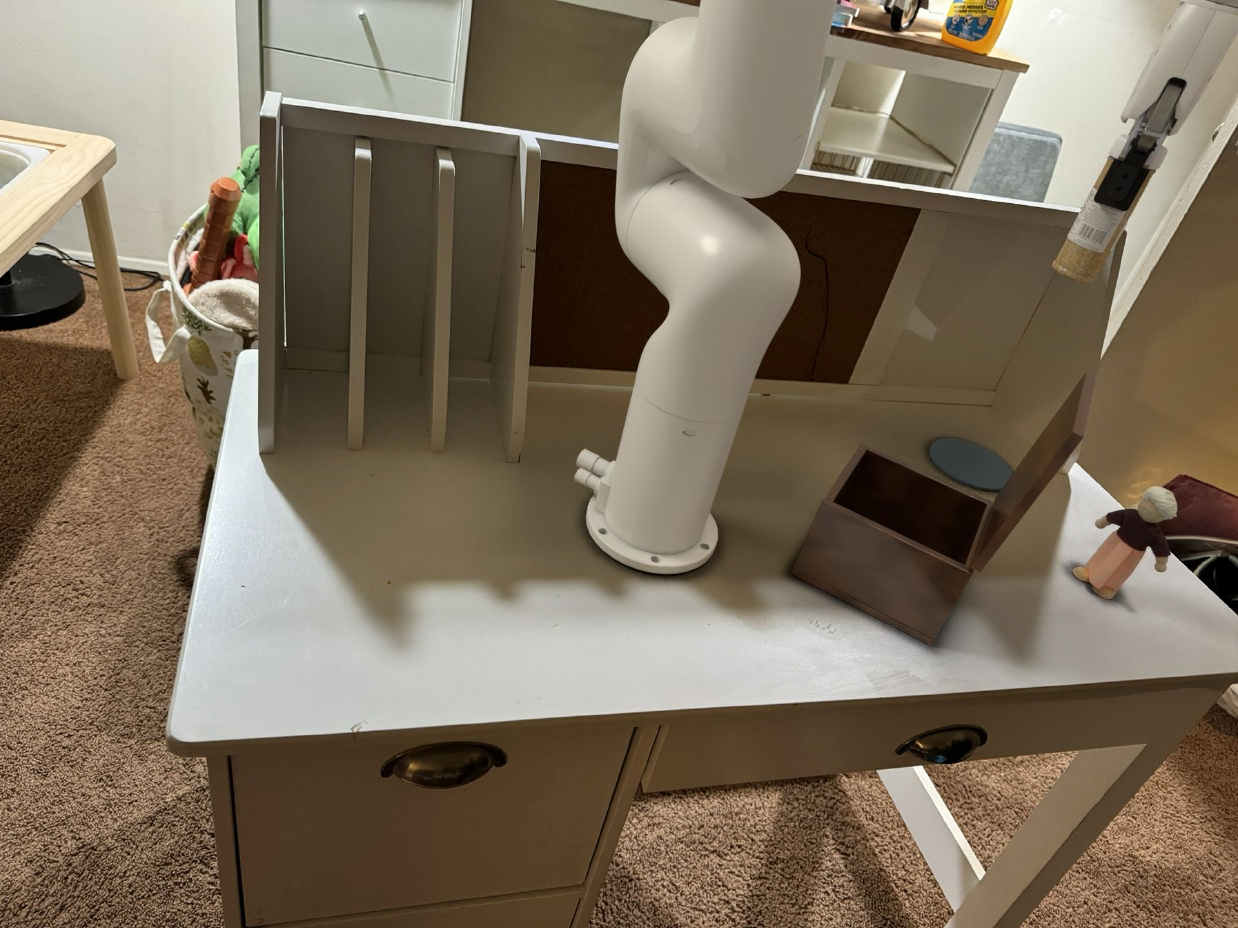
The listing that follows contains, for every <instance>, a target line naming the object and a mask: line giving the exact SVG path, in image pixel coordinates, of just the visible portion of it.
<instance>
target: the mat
mask: <svg viewBox="0 0 1238 928" xmlns="http://www.w3.org/2000/svg"><path fill="white" fill-rule="evenodd" d="M928 454H929V456H930V459H931V461H932V462H933V464H934V465H935V466H936V467H937V468H938V469H939V470H940V471H941V472H942V473H943V474H945V475H946V476H947V477H949V478H951V479H952V480H954V481H956V482H958V483H959V484H962V485H964V486H967V487H970V488H972V489H975V490H980V491H984V492H1000V490H1001V489H1002V487H1003V486H1004V485H1005V483H1006V482H1007V481H1008V479H1009V478H1010V476H1011V475H1012V474H1013V471H1012V469H1011V468H1010V466H1009V464H1007V463H1006V462H1005V461H1004V460H1003V459H1002V458H1001V457H1000V456H999V455H997V454H996V453H994V452H993V451H991V450H989V449H987V448H986V447H983V446H981V445H979V444H977V443H974V442H971V441H968V440H965V439H962V438H961V439H959V438H954V437H948V438H947V437H944V438H939V439H936V440H935V441H933V442H932V443H931V444H930V447H929V451H928Z"/></svg>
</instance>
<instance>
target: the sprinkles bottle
mask: <svg viewBox="0 0 1238 928" xmlns="http://www.w3.org/2000/svg"><path fill="white" fill-rule="evenodd" d="M1129 136H1130V135H1128V134H1119V135H1117V136H1116V138H1115V140H1114V142H1113V144H1112V146H1111V148H1110V149H1109V152H1108V154H1109V155H1108V156H1107V157H1106V159H1107V160H1106V162H1105V164H1104V166H1103V168H1102V170H1101V171H1100V174H1099V175H1098V177H1097V178H1096V181H1095V183H1094V185H1092V187H1091V189H1090V191H1089V193H1088V195H1087V197H1086V199H1085V201H1084V202H1083V205H1082V207H1081V209H1080V210H1079V213H1078V214H1077V216H1076V218H1075V220H1074V222H1073V224H1072V226H1071V227H1070V230H1069V232H1068V234H1067V237H1066V239H1065V241H1064V243H1063V245H1062V246H1061V249H1060V251H1059V253H1058V255H1057V256H1056V257H1055V259H1054V260H1053V261H1052V264H1051V268H1052V269H1053V270H1054V271H1055V272H1056V273H1058V274H1060V275H1061V276H1063V277H1064V278H1067V279H1070V280H1073V281H1075V282H1080V283H1085V284H1086V283H1087V284H1091V283H1095V282H1096V281H1097V280H1098V279H1099V275H1100V272H1101V270H1102V269H1103V267H1104V266H1105V264H1106V262H1107V260H1108V258H1109V256H1110V254H1111V253H1112V251H1113V250H1114V249H1115V247H1116V245H1117V243H1118V242H1119V239H1120V238H1121V236H1122V234H1123V232H1124V231H1125V229H1126V227H1127V225H1128V221H1129V220H1130V217H1132V214H1133V213H1134V211H1135V209H1136V207H1137V205H1138V203H1139V202H1140V200H1141V198H1142V196H1143V195H1144V193H1145V191H1146V188H1147V186H1148V185H1149V183H1150V181H1151V179H1152V178H1153V176H1154V174H1156V172H1157V170H1159V169H1160V168H1161V167H1162V164H1163V162H1164V160H1165V158H1166V156H1167V154H1168V152H1169V150H1168V148H1167V147H1165V145H1163V144H1162V145H1161V147H1160V148H1159V150H1158V152H1157V154H1156V156H1155V158H1154V160H1153V162H1152V163H1151V165H1150V167H1149V169H1150V172H1149V174H1148V175H1147V177H1146V179H1145V181H1144V183H1143V184H1142V186H1141V188H1140V190H1139V192H1138V193H1137V195H1136V197H1135V199H1134V201H1133V202H1132V204H1131V206H1130V208H1129V209H1128V210H1127V211H1121V210H1118V209H1115V208H1112V207H1109V206H1106V205H1103V204H1100V203H1097V202H1095V201H1094V196H1095V194H1096V192H1097V190H1098V188H1099V187H1100V185H1101V183H1102V181H1103V179H1104V177H1105V175H1106V173H1107V171H1108V169H1109V168H1110V166H1111V164H1112V162H1113V160H1114V158H1116V159H1118V157H1119V155H1120V153H1121V151H1122V149H1123V147H1124V145H1125V143H1126V141H1127V140H1128V138H1129ZM1131 146H1132V145H1131ZM1130 148H1131V147H1130ZM1129 150H1130V149H1129ZM1128 152H1129V151H1128ZM1123 161H1124V160H1123Z"/></svg>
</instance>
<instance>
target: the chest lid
mask: <svg viewBox="0 0 1238 928" xmlns="http://www.w3.org/2000/svg"><path fill="white" fill-rule="evenodd" d="M1096 379H1097V375H1096V374H1093V373H1092V372H1090V371H1085V373H1084V374H1083V375H1082V377H1081V378H1080V380H1079V381H1078V383H1077V384H1076V385H1075V387H1074V388H1073V389H1072V391H1071V392H1070V393H1069V395H1068V397H1067V398H1066V399H1065V401H1064V402H1063V403H1062V405H1061V406H1060V407H1059V409H1058V410H1057V412H1056V413H1055V414H1054V416H1053V417H1052V418H1051V420H1050V421H1049V423H1048V424H1047V425H1046V427H1045V428H1044V430H1043V431H1042V432H1041V433H1040V435H1039V437H1038V438H1037V439H1036V441H1035V442H1034V443H1033V444H1032V445H1031V447H1030V449H1028V452H1027V453H1026V455H1025V456H1024V457H1023V459H1022V460H1021V461H1020V462H1019V464H1018V465H1017V467H1016V468H1015V470H1014V471H1012V475H1011V476H1010V478H1009V479H1008V481H1007V482H1006V483H1005V485H1004V486H1003V487H1002V489H1001V490H1000V491H998V493H997V495H996V496H995V497H994V500H993V502H994V503H993V506H992V509H991V511H990V514H989V517H988V520H987V523H986V526H985V529H984V531H983V534H982V537H981V540H980V543H979V546H978V549H977V551H976V554H975V557H974V560H973V563H972V566H971V568H973V569H974V571H976V572H978V573H981V572H982V571H983V570H984V569H985V567H986V566H987V565H988V563H989V562H990V561H991V560H992V558H993V557H994V556H995V554H996V553H997V551H998V550H999V549H1000V547H1001V546H1002V545H1003V544H1004V542H1005V541H1006V540H1007V538H1008V537H1009V536H1010V535H1011V533H1012V532H1013V531H1014V530H1015V528H1016V527H1017V525H1019V523H1020V521H1021V520H1022V519H1023V518H1024V516H1025V515H1026V514H1027V512H1028V511H1029V510H1030V508H1032V506H1033V504H1034V503H1035V502H1036V501H1037V499H1038V498H1039V497H1040V495H1041V494H1042V493H1043V491H1045V489H1046V488H1047V486H1048V485H1049V484H1050V483H1051V481H1052V480H1053V478H1054V477H1055V476H1056V474H1058V472H1059V470H1060V469H1061V468H1062V467H1063V465H1064V464H1065V463H1066V461H1067V460H1068V459H1069V458H1070V456H1071V455H1072V454H1073V453H1074V451H1075V449H1076V448H1078V446H1079V444H1080V443H1081V442H1082V441H1083V440H1084V437H1085V434H1086V433H1085V432H1086V429H1087V428H1086V427H1087V422H1088V418H1089V413H1090V408H1091V404H1092V398H1093V393H1094V388H1095V384H1096Z"/></svg>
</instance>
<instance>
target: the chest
mask: <svg viewBox="0 0 1238 928" xmlns="http://www.w3.org/2000/svg"><path fill="white" fill-rule="evenodd" d="M993 503H994V501H992V500H990V499H987V498H985V497H983V496H981V495H979V494H976V493H974V492H972V491H970V490H967V489H965V488H963V487H961V486H958V485H956V484H954V483H953V482H950V481H948V480H945V479H943V478H941V477H939V476H936V475H934V474H932V473H930V472H927V471H925V470H922V469H921V468H918V467H917V466H914V465H912V464H909V463H908V462H905V461H903V460H901V459H899V458H896V457H894V456H892V455H890V454H888V453H885V452H883V451H880V450H879V449H877V448H874V447H872V446H870V445H868V444H866V443H863V442H861V443H860V444H859V446H858V448H857V449H856V450H855V452H854V453H853V454H852V456H851V457H850V459H849V461H848V462H847V463H846V465H845V466H844V468H843V469H842V471H841V472H840V474H839V475H838V476H837V478H836V480H835V481H834V483H833V484H832V486H831V487H830V489H829V490H828V492H827V493H826V495H825V496H824V498H823V499H822V501H821V502H820V504H819V507H818V509H817V512H816V514H815V516H814V519H813V521H812V524H811V526H810V528H809V531H808V533H807V535H806V538H805V540H804V542H803V545H802V547H801V549H800V552H799V554H798V556H797V559H796V561H795V563H794V565H793V567H792V569H791V575H792V576H794V577H797V578H798V579H800V580H802V581H804V582H806V583H808V584H810V585H812V586H814V587H815V588H817V589H819V590H822V591H823V592H825V593H827V594H829V595H832V597H835V598H837V599H839V600H841V601H843V602H845V603H847V604H848V605H851V606H852V607H854V608H857V609H858V610H860V611H863V612H864V613H866V614H868V615H870V616H871V617H874V618H876V619H878V620H880V621H882V622H884V623H886V624H888V625H890V626H891V627H894V628H896V629H897V630H899V631H901V632H903V633H905V634H907V635H909V636H911V637H913V638H915V639H917V640H919V641H920V642H923V643H925V644H927V645H928V646H931V645H932V643H933V642H934V641H935V638H936V637H937V636H938V633H939V632H940V630H941V629H942V626H943V625H944V624H945V622H946V620H947V619H948V617H949V615H950V614H951V612H952V610H953V609H954V607H955V605H956V604H957V602H958V600H959V598H960V597H961V595H962V593H963V592H964V589H965V588H966V586H967V585H968V583H969V582H970V580H971V578H972V577H973V575H974V572H975V569H973V568H971V566H972V563H973V560H974V557H975V554H976V551H977V549H978V546H979V543H980V540H981V537H982V534H983V531H984V529H985V526H986V523H987V520H988V517H989V514H990V511H991V509H992V506H993Z"/></svg>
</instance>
